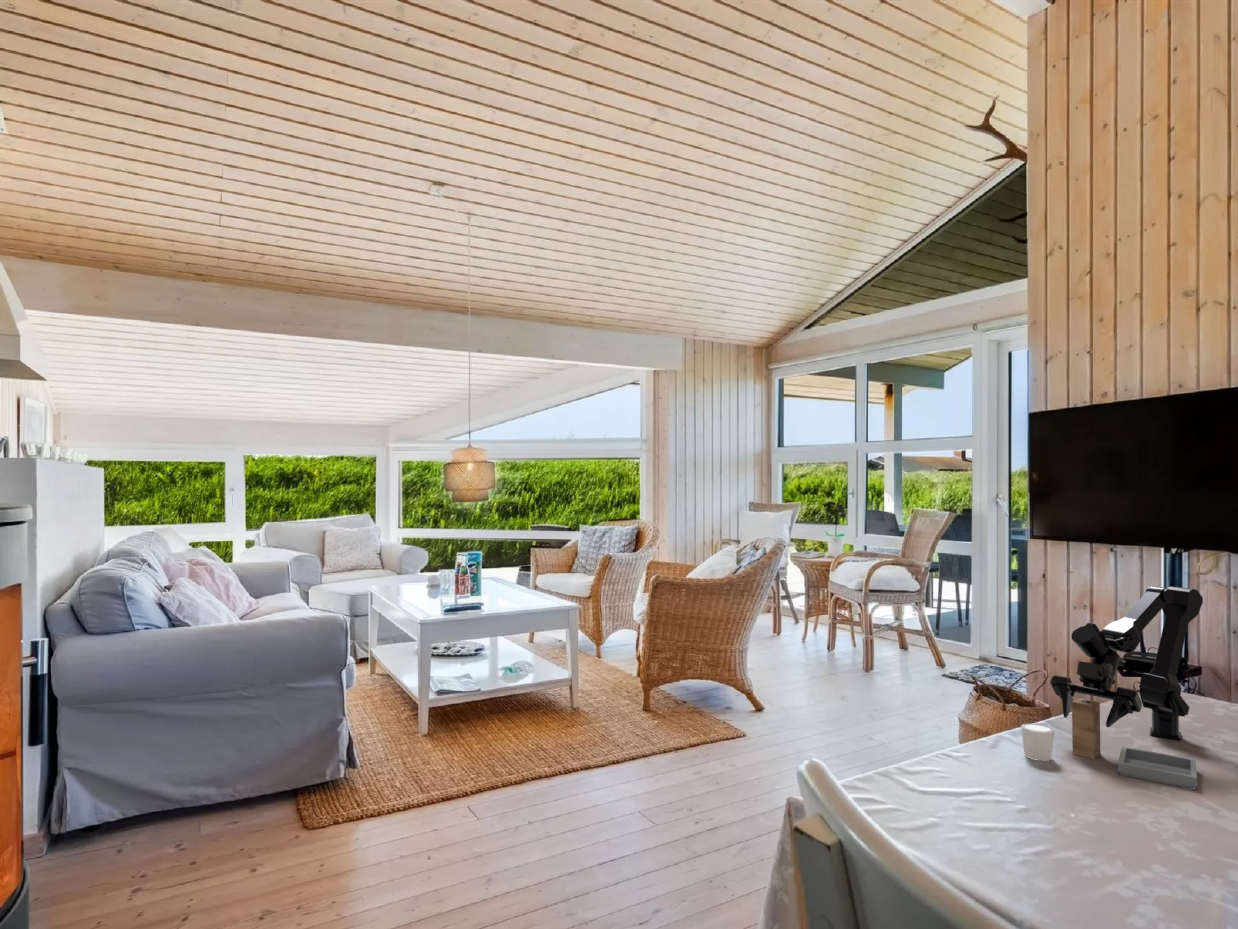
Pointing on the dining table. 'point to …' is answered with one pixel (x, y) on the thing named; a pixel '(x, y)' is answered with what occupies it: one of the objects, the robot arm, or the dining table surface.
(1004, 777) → the dining table surface
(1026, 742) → the white cup
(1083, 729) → the walnut block
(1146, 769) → the grey tray
